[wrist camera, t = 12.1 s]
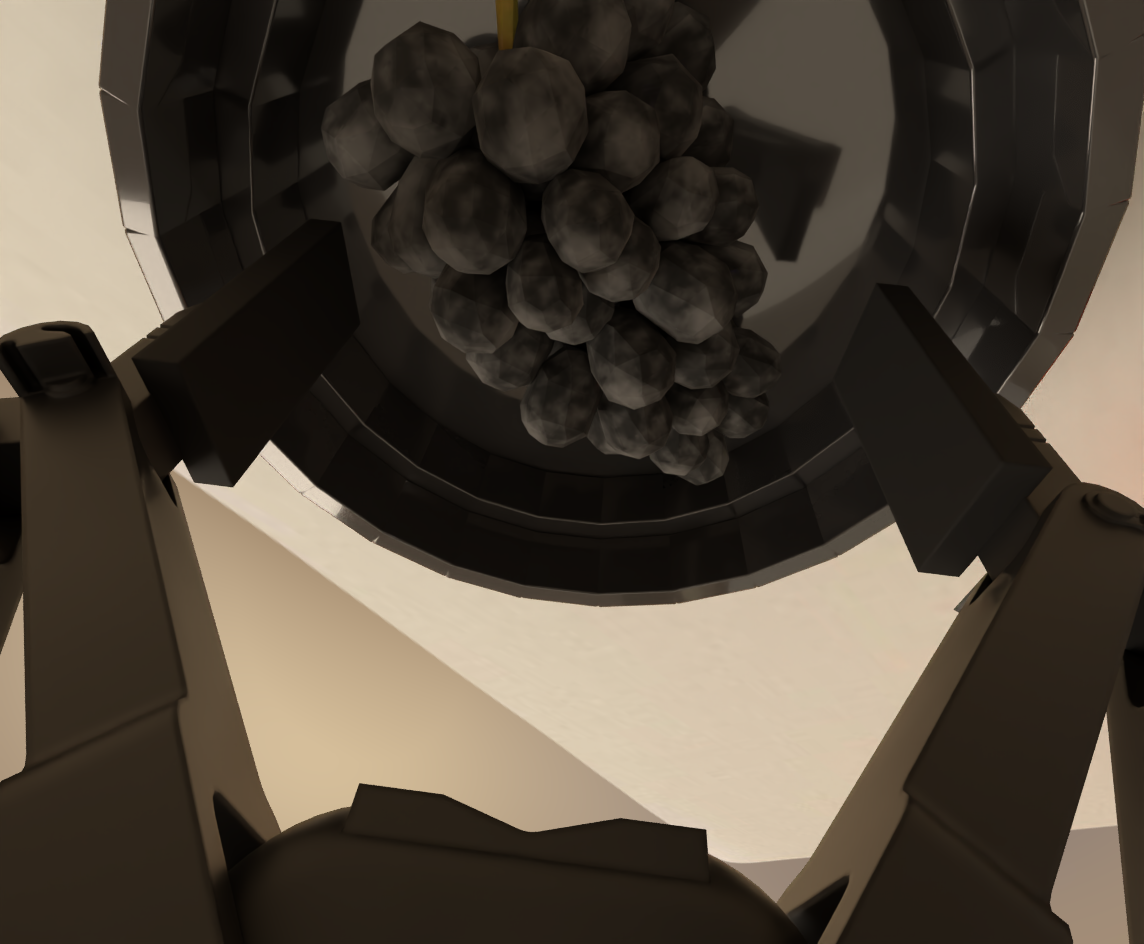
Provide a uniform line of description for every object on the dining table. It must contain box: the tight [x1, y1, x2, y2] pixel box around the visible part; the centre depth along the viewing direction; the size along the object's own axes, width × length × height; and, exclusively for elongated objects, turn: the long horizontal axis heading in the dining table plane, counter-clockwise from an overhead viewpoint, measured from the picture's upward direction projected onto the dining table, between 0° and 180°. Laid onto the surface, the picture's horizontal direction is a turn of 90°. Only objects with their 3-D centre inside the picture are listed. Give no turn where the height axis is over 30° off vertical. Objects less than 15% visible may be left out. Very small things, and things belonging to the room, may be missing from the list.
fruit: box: [321, 0, 782, 486], centre depth 15 cm, size 9×8×15 cm
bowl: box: [99, 0, 1144, 607], centre depth 16 cm, size 22×22×6 cm
